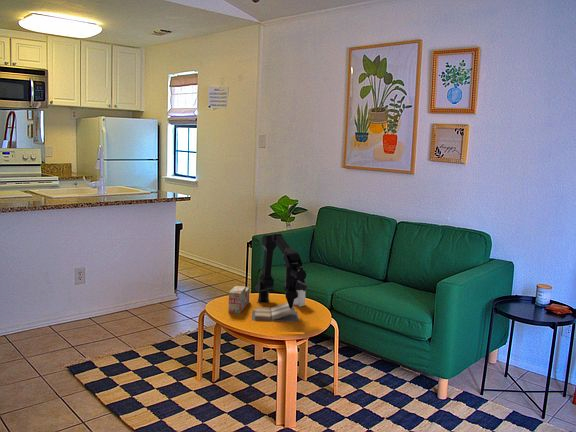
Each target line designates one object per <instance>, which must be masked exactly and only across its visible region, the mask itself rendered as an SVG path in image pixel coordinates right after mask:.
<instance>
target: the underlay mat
mask: <svg viewBox="0 0 576 432" xmlns="http://www.w3.org/2000/svg"><path fill="white" fill-rule="evenodd" d="M299 319H300V318H299V313H298V311H297V310H295V313H293V314H290V315H287V316H284V317H281V318H278V319H275V320H273V319H272V314H271V320H255V309H253V310H252V311H251V321H252V322H253V321H254V322H257V321H259V322H295V323H296V322H297V323H299V322H300V320H299Z"/></svg>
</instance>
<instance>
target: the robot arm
mask: <svg viewBox="0 0 576 432" xmlns="http://www.w3.org/2000/svg"><path fill="white" fill-rule="evenodd" d="M261 245H262V247H263V249H264V253H263V264H262V273H261V275H260V276H259V277H258V282H257V284H256V285H255V287H254V289H255V292H257V293H258V298H257V303H263V304H264V303H265V304H266V303H267V304H268V303H270V296H269V295H270V292H273V290H274V289H273V288H274V286H275V285H274V283H275V280H274V278H273V276H272V270H273V269H272V268H273V260H274V259H273V257H274V250H275V249H276V248H277V247H278V249H279V250H280V251H281V253H282V254H283V255H282V259H283V261H284V267H285V277H284V278H285V282H284V285H283V286H284V287H283V288H284V293H285V299H286V303H287V302H288V305H289V307H290V308H292V306H293V302H294V299H296V298H297V297H298V291H297V290H296V289H297V288H298V289H301V290H303V291H307V288H308V283H307V282H306V281H305V279H306V278H307V272H306V270H304V266H303V261H302V258H301V256H300V254H299V253H298V251H297V250H296V249H293V248H292V247H291V246H290V245H289V244H288V242H287V241H286V239H285V238H284V237H283V234H282V233H272V234H271V233H270V234H263V236H262V237H261Z"/></svg>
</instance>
